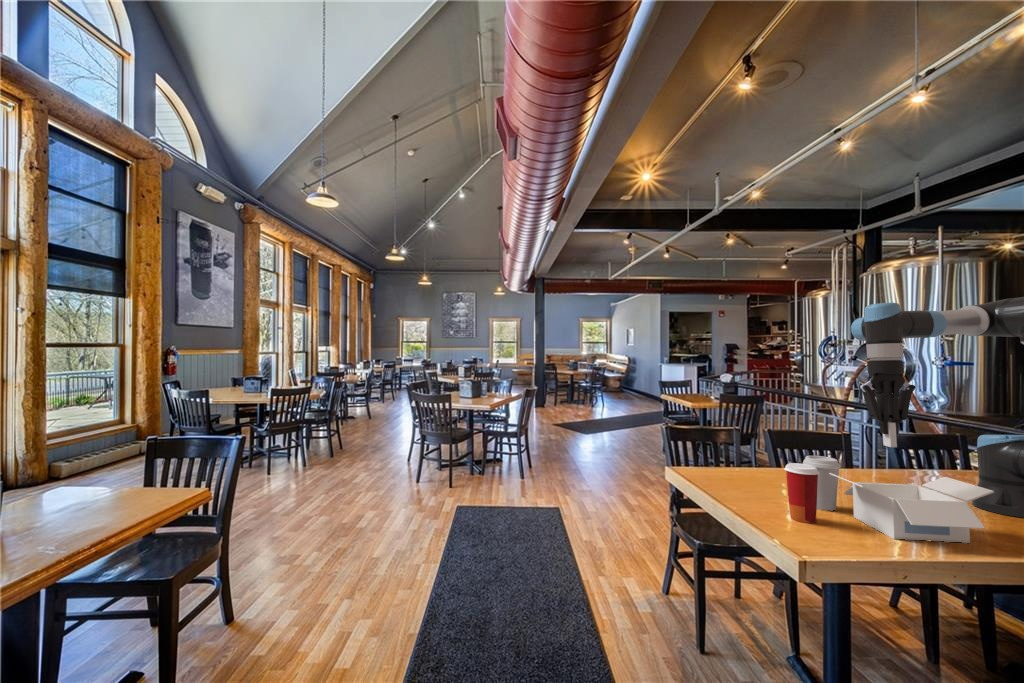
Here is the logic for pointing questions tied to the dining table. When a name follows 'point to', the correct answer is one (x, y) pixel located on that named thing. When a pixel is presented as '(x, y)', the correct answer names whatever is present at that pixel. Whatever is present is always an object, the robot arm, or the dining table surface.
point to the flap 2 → (957, 489)
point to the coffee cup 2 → (825, 480)
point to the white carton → (913, 512)
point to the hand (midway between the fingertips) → (890, 446)
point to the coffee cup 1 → (802, 491)
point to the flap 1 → (859, 485)
